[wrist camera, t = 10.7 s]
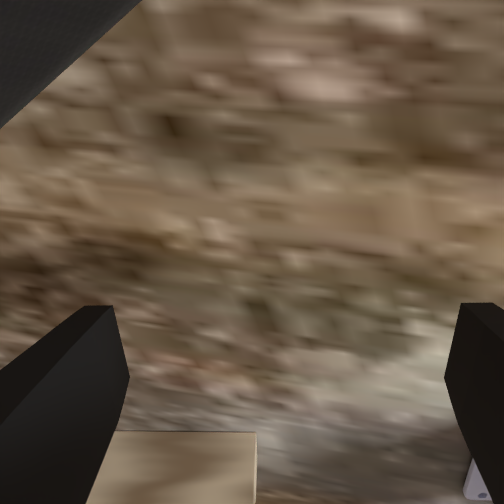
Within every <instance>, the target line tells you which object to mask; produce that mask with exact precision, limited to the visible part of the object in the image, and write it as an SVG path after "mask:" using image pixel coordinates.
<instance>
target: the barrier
mask: <svg viewBox="0 0 504 504" xmlns="http://www.w3.org/2000/svg"><path fill="white" fill-rule="evenodd" d="M141 1H142V0H0V129H1V128H2V127H3V126H4V125H5V124H6V123H7V122H8V121H9V120H10V119H12V118H13V117H14V116H15V115H16V114H17V113H18V112H19V111H20V110H21V109H23V108H24V107H25V106H26V105H27V104H28V103H29V102H30V101H31V100H32V99H34V98H35V97H36V96H37V95H38V94H39V93H40V92H41V91H42V90H43V89H45V88H46V87H47V86H48V85H49V84H50V83H51V82H52V81H53V80H55V79H56V78H57V77H58V76H59V75H60V74H61V73H62V72H63V71H64V70H66V69H67V68H68V67H69V66H70V65H71V64H72V63H73V62H74V61H75V60H77V59H78V58H79V57H80V56H81V55H82V54H83V53H84V52H85V51H86V50H88V49H89V48H90V47H91V46H92V45H93V44H94V43H95V42H96V41H98V40H99V39H100V38H101V37H102V36H103V35H104V34H105V33H106V32H107V31H109V30H110V29H111V28H112V27H113V26H114V25H115V24H116V23H117V22H118V21H120V20H121V19H122V18H123V17H124V16H125V15H126V14H127V13H128V12H129V11H131V10H132V9H133V8H134V7H135V6H136V5H137V4H138V3H139V2H141Z"/></svg>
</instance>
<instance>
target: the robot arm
mask: <svg viewBox="0 0 504 504" xmlns="http://www.w3.org/2000/svg"><path fill="white" fill-rule="evenodd" d="M129 378H130V375H129V371H128V367H127V363H126V359H125V354H124V350H123V346H122V342H121V338H120V334H119V330H118V326H117V321H116V317H115V313H114V309H113V305H111V306H84V307H82V308H81V309H79V310H78V311H76V312H75V313H74V314H72V315H71V316H70V317H68V318H67V319H66V320H64V321H63V322H62V323H61V324H59V325H58V326H57V327H55V328H54V329H53V330H52V331H50V332H49V333H48V334H46V335H45V336H44V337H43V338H41V339H40V340H39V341H38V342H36V343H35V344H34V345H32V346H31V347H30V348H28V349H27V350H26V351H25V352H23V353H22V354H21V355H19V356H18V357H17V358H15V359H14V360H13V361H12V362H10V363H9V364H8V365H6V366H5V367H4V368H2V369H1V370H0V504H86V502H87V499H88V497H89V495H90V492H91V490H92V487H93V485H94V482H95V480H96V477H97V475H98V472H99V470H100V467H101V465H102V462H103V460H104V457H105V455H106V452H107V449H108V447H109V444H110V442H111V439H112V437H113V434H114V432H115V429H116V426H117V424H118V421H119V417H120V414H121V410H122V406H123V403H124V399H125V395H126V391H127V387H128V382H129ZM444 379H445V383H446V386H447V390H448V393H449V396H450V400H451V403H452V406H453V410H454V413H455V416H456V419H457V422H458V425H459V427H460V430H461V432H462V434H463V437H464V439H465V441H466V443H467V446H468V448H469V450H470V452H471V455H472V457H473V459H472V462H471V465H470V468H469V471H468V475H467V478H466V481H465V484H464V487H463V493H464V496H465V497H466V498H467V499H469V500H492V501H493V503H494V504H504V310H503V309H502V308H500V307H499V306H497V305H495V304H494V303H461V305H460V310H459V314H458V319H457V323H456V327H455V332H454V336H453V341H452V345H451V349H450V354H449V358H448V362H447V367H446V371H445V376H444Z"/></svg>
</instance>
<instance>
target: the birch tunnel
mask: <svg viewBox="0 0 504 504" xmlns="http://www.w3.org/2000/svg"><path fill="white" fill-rule="evenodd" d="M256 477H257V441H256V433H253V432H151V431H115V432H114V434H113V437H112V439H111V442H110V444H109V447H108V449H107V452H106V455H105V457H104V460H103V462H102V465H101V467H100V470H99V472H98V475H97V477H96V480H95V482H94V485H93V487H92V490H91V492H90V495H89V497H88V499H87V502H86V504H255V502H256Z"/></svg>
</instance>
